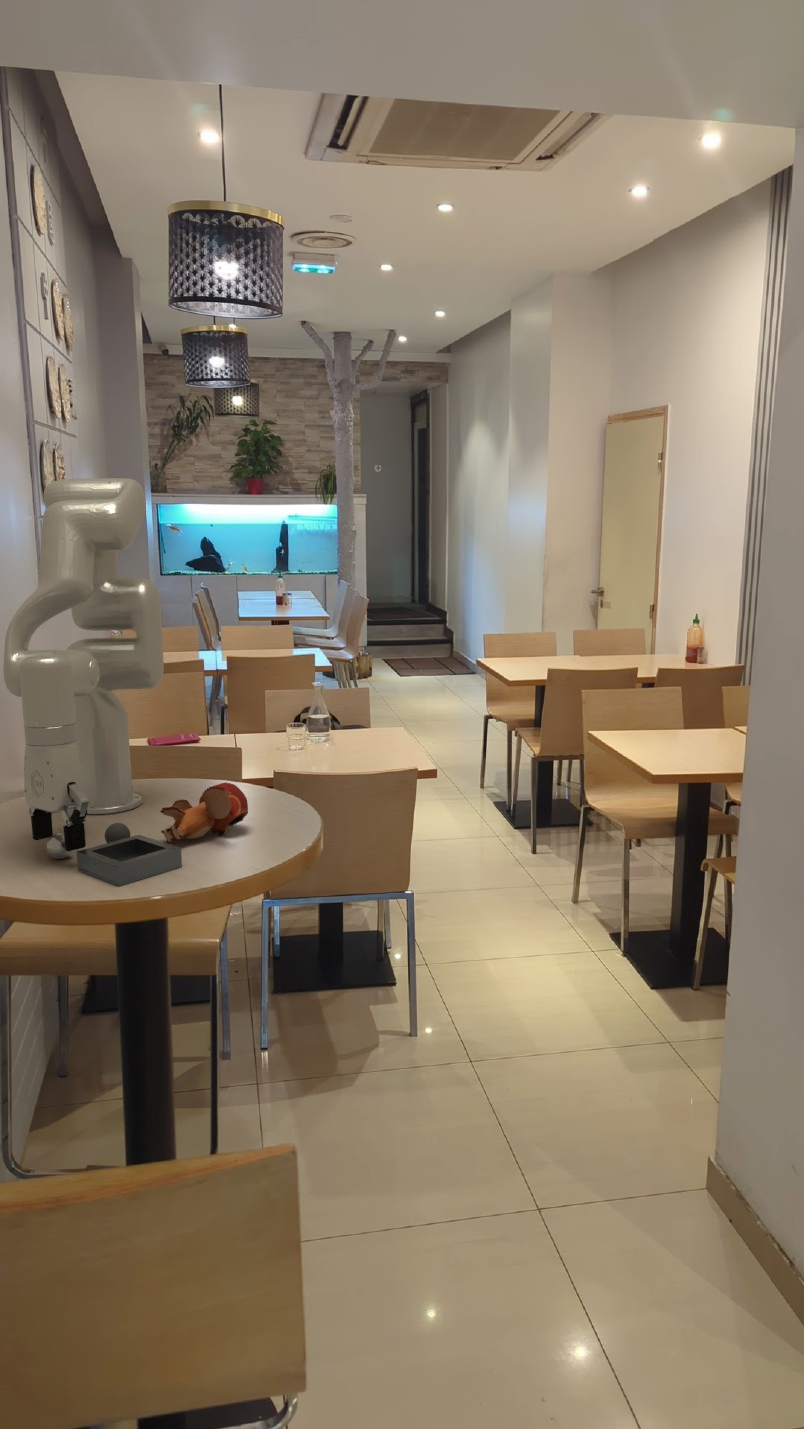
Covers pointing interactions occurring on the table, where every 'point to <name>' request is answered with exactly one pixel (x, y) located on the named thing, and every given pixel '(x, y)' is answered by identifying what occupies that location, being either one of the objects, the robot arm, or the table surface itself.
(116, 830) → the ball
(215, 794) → the figurine
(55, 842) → the steel ball
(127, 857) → the square metal tray
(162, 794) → the table surface
